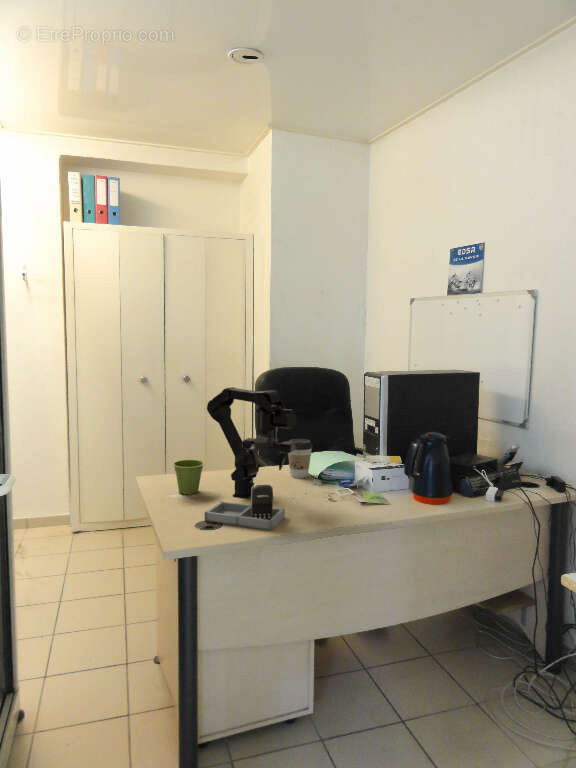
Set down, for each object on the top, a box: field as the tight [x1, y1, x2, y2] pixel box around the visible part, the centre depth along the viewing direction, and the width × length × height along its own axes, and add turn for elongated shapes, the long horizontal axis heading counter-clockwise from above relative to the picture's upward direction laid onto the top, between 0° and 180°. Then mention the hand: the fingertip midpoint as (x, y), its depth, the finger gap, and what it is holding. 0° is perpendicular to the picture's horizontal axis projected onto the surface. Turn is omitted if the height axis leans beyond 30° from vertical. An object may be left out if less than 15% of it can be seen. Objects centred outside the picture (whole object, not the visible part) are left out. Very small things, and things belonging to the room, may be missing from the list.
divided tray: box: [204, 501, 285, 532], centre depth 176 cm, size 23×12×3 cm, turn 71°
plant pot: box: [172, 459, 205, 495], centre depth 204 cm, size 12×12×11 cm
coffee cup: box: [287, 438, 314, 479], centre depth 229 cm, size 11×11×15 cm
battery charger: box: [250, 483, 274, 520], centre depth 173 cm, size 7×4×11 cm, turn 97°
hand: (268, 468), depth 194 cm, fingers open, 9 cm apart
